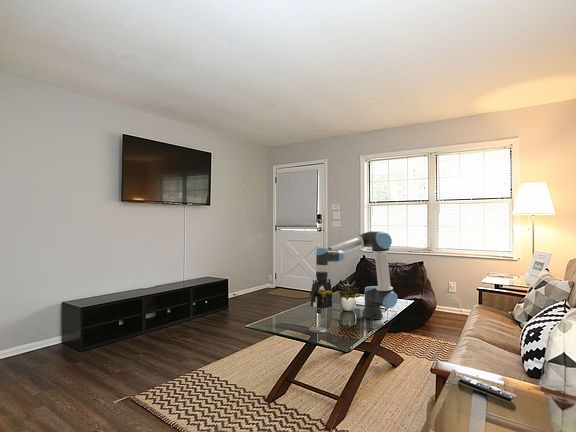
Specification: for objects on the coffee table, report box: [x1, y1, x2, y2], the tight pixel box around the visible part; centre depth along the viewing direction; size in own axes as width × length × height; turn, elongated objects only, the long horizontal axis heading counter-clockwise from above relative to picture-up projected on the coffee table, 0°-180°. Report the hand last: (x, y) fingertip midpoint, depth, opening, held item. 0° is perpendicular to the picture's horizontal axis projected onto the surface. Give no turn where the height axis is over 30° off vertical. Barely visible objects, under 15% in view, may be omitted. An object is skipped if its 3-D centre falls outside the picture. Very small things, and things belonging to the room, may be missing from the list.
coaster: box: [308, 326, 329, 334], centre depth 220 cm, size 12×12×1 cm
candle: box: [310, 288, 333, 310], centre depth 219 cm, size 10×10×10 cm
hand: (321, 305), depth 219 cm, fingers closed on candle, 10 cm apart
